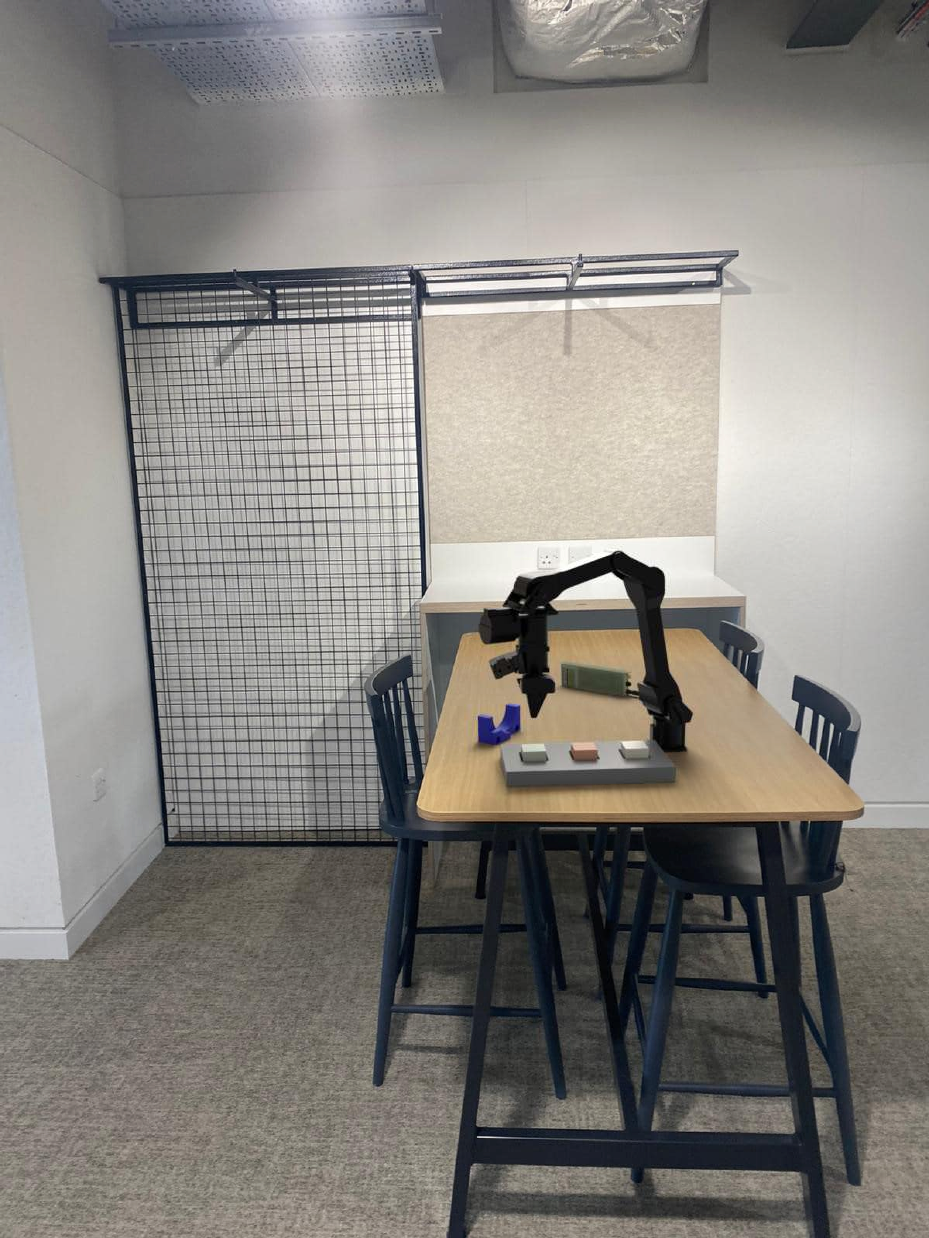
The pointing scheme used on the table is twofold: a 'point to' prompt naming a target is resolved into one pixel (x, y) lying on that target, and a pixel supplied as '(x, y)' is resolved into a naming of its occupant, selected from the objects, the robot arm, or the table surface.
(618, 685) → the handheld radio
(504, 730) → the cable clip
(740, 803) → the table surface
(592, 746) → the peach square block
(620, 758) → the keypad
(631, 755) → the cream key
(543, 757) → the sage key
